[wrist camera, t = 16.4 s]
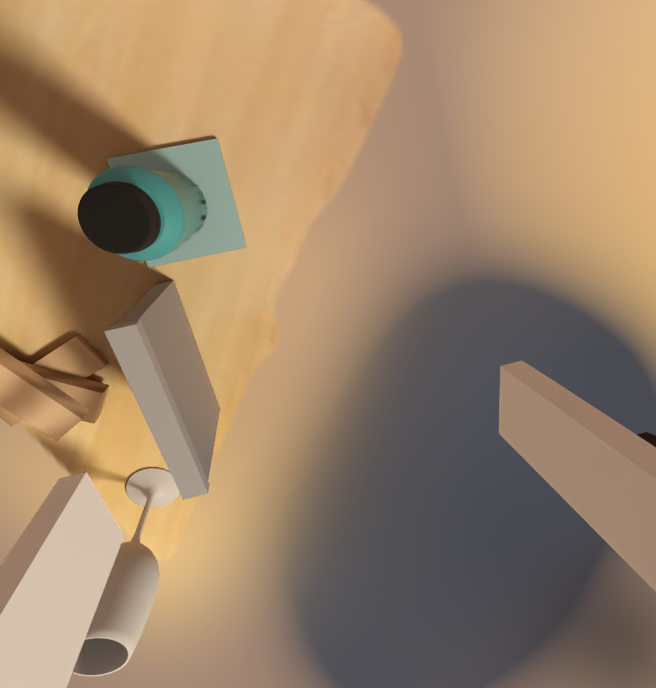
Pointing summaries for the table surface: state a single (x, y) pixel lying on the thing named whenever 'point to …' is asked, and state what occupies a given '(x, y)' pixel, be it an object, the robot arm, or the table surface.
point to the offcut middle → (77, 389)
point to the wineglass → (127, 585)
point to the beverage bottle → (141, 211)
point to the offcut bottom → (67, 364)
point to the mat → (211, 176)
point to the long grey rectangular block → (169, 384)
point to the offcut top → (37, 399)
